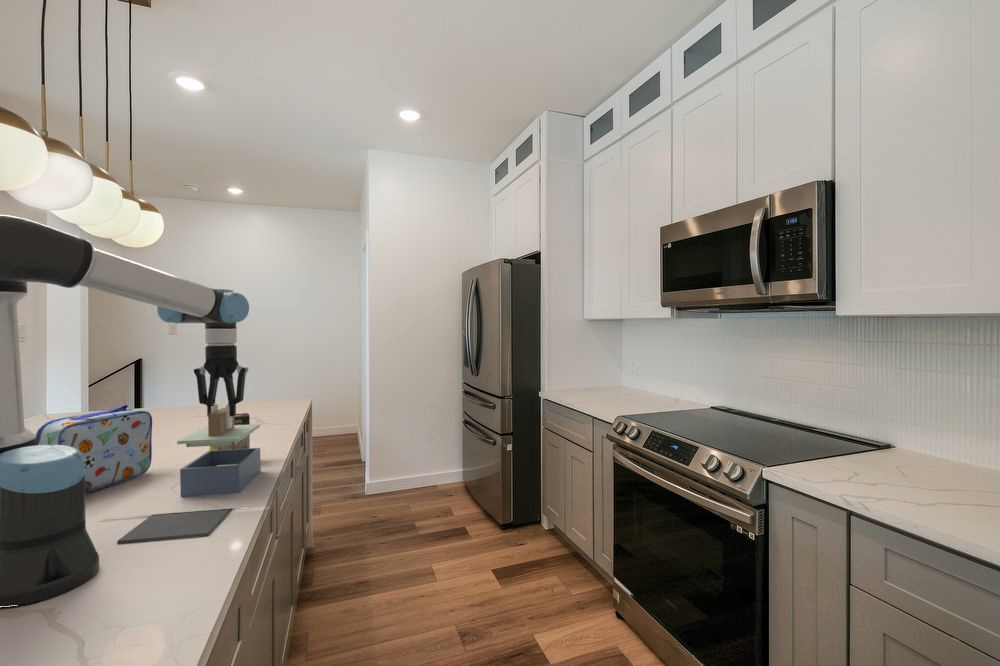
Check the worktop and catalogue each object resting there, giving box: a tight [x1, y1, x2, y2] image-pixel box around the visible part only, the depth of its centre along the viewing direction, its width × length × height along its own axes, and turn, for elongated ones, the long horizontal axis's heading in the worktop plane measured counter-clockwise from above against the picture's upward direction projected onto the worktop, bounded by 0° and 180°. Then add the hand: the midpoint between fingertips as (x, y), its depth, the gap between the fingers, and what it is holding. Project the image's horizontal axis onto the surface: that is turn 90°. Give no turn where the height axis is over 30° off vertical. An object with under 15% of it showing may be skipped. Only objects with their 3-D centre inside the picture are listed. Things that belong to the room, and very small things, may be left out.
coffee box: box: [217, 412, 251, 450], centre depth 149 cm, size 9×6×16 cm
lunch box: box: [35, 404, 153, 494], centre depth 131 cm, size 28×10×22 cm, turn 168°
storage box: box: [179, 447, 261, 498], centre depth 130 cm, size 18×14×8 cm
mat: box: [116, 507, 234, 545], centre depth 108 cm, size 22×17×1 cm
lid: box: [176, 407, 261, 448], centre depth 129 cm, size 18×14×8 cm
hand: (221, 428), depth 129 cm, fingers closed on lid, 3 cm apart
